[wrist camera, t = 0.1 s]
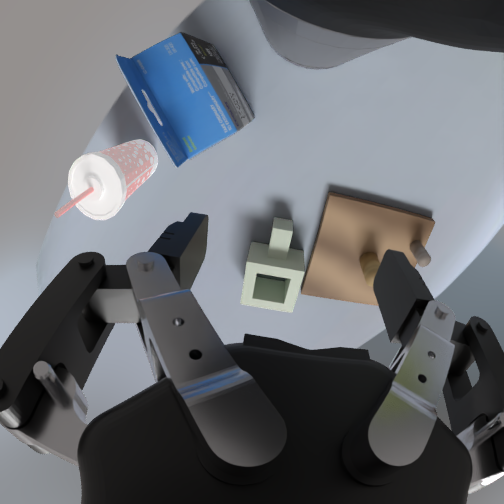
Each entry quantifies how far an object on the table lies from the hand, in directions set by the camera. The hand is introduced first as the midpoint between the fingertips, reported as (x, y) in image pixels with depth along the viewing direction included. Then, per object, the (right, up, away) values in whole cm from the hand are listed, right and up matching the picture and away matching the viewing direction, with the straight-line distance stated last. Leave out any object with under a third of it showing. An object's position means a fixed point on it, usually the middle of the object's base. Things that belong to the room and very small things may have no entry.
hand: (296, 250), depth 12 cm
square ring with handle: (+1, 0, +21) cm, 21 cm away
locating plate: (+11, 0, +19) cm, 22 cm away
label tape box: (-5, +15, +12) cm, 20 cm away
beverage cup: (-14, +10, +16) cm, 24 cm away
